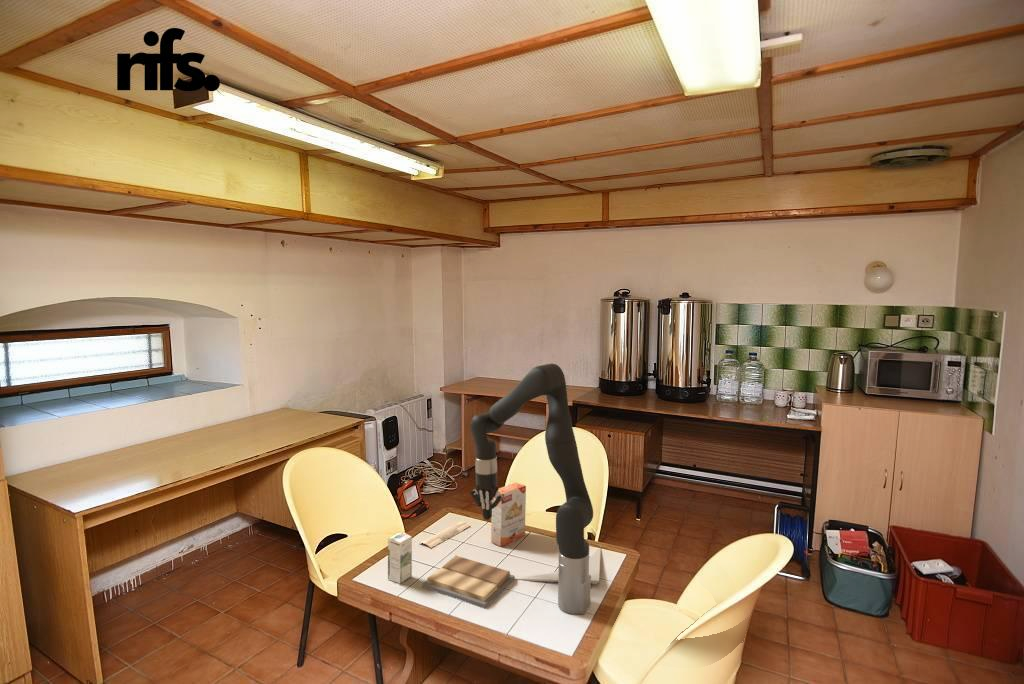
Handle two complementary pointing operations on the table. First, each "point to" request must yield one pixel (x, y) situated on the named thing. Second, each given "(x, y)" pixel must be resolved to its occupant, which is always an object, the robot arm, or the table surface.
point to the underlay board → (467, 598)
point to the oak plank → (462, 583)
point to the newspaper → (445, 534)
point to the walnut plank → (478, 570)
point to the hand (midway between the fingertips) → (487, 518)
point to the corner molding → (593, 571)
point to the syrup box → (399, 557)
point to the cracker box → (509, 515)
